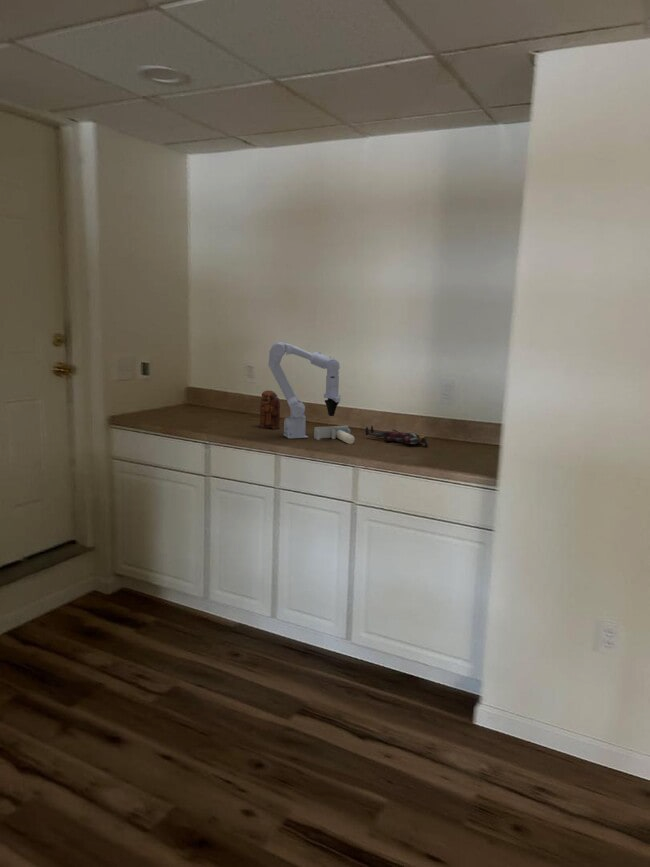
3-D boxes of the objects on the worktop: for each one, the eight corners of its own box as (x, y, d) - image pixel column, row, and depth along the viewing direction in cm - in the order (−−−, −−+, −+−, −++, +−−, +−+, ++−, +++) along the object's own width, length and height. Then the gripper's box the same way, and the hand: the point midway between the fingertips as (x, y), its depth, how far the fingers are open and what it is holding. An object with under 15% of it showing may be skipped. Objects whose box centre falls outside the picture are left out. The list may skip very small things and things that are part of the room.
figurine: (376, 424, 306) (434, 432, 290) (375, 436, 307) (434, 445, 291) (361, 428, 296) (421, 436, 279) (361, 441, 297) (421, 450, 280)
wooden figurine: (255, 426, 319) (255, 390, 315) (263, 425, 324) (263, 388, 321) (275, 430, 313) (275, 392, 309) (282, 428, 318) (283, 391, 315)
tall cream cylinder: (355, 442, 289) (353, 434, 288) (347, 445, 288) (345, 436, 287) (344, 437, 300) (342, 428, 299) (336, 439, 299) (334, 431, 297)
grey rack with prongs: (317, 439, 293) (317, 429, 292) (314, 438, 297) (314, 427, 296) (350, 438, 300) (351, 427, 299) (347, 436, 303) (347, 425, 302)
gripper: (346, 387, 289) (345, 418, 292) (334, 383, 302) (333, 412, 305) (332, 388, 287) (331, 418, 289) (319, 384, 300) (319, 413, 302)
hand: (331, 415), depth 297 cm, fingers closed
